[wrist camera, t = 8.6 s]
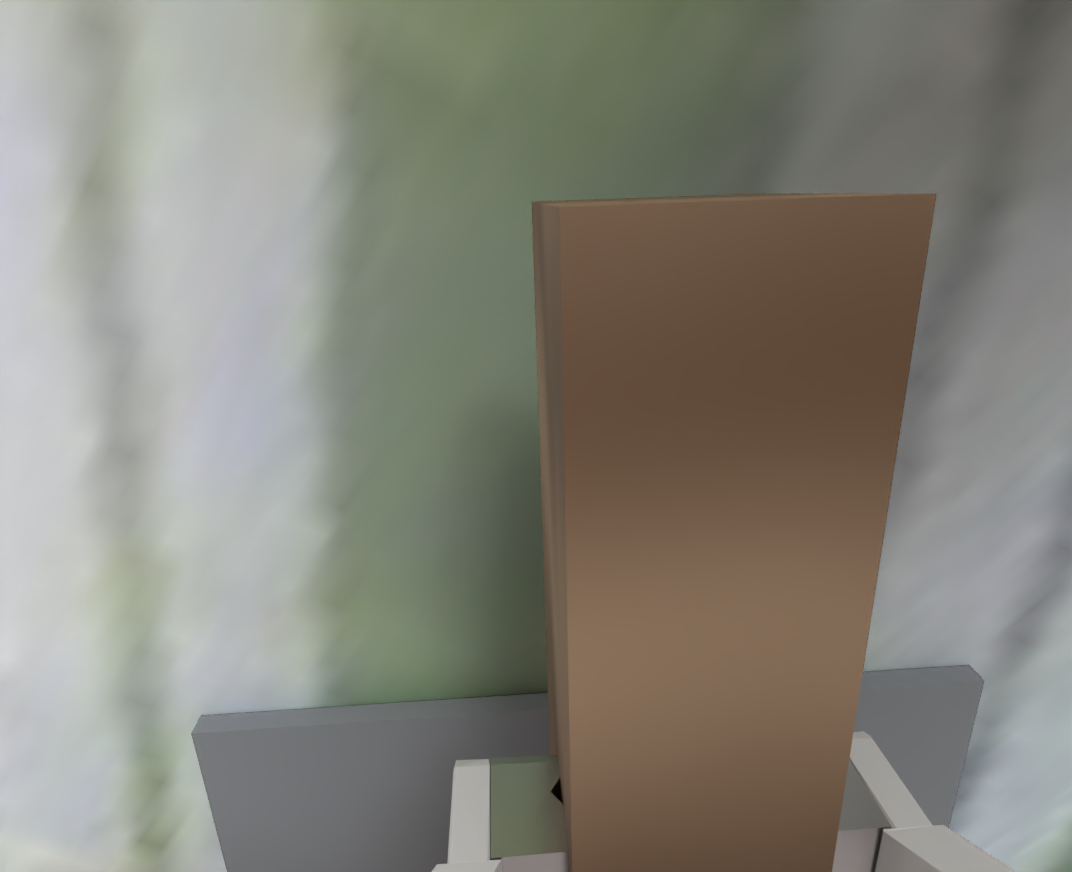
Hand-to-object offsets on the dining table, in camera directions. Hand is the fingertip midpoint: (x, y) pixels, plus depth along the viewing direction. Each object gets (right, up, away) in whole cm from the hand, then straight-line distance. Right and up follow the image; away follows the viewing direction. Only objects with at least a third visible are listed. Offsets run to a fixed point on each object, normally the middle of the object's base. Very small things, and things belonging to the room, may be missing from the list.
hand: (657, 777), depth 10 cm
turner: (0, -1, +2) cm, 3 cm away
